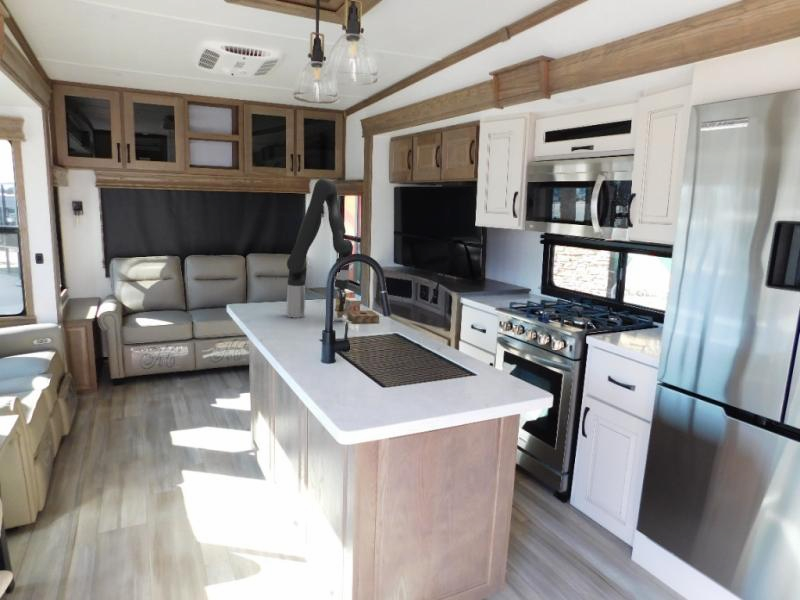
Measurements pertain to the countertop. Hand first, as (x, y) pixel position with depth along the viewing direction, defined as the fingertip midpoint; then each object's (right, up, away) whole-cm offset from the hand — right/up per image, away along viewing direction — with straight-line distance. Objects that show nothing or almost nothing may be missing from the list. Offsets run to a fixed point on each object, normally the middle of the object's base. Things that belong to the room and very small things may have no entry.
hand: (340, 309), depth 287 cm
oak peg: (0, -4, +1) cm, 4 cm away
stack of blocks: (+2, -2, +23) cm, 23 cm away
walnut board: (+12, -6, +5) cm, 14 cm away
